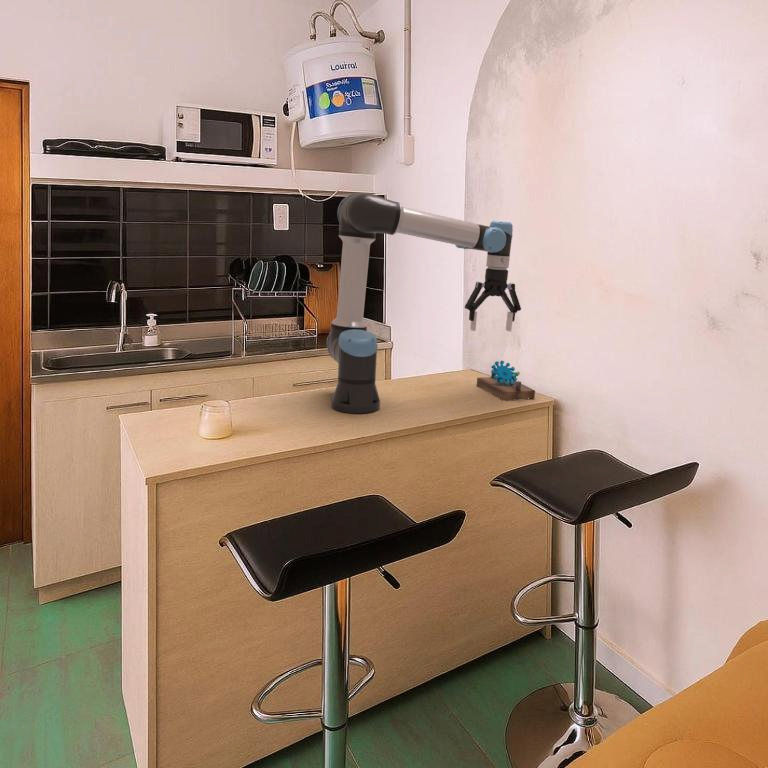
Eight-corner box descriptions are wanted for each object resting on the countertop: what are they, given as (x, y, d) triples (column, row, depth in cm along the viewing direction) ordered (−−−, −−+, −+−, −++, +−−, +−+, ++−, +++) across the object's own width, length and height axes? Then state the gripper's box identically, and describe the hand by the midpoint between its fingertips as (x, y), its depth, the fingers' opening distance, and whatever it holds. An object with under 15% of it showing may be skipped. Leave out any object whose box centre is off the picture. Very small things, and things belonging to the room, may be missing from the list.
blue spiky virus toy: (495, 382, 230) (490, 357, 235) (487, 390, 235) (483, 366, 240) (523, 385, 233) (518, 361, 238) (515, 394, 238) (510, 370, 243)
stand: (502, 400, 225) (504, 383, 224) (476, 385, 244) (477, 369, 242) (534, 399, 229) (536, 382, 228) (506, 384, 247) (507, 368, 246)
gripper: (468, 267, 219) (462, 332, 224) (535, 270, 227) (528, 332, 232) (458, 265, 226) (453, 328, 231) (524, 268, 234) (517, 329, 239)
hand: (490, 330), depth 232 cm, fingers open, 13 cm apart
